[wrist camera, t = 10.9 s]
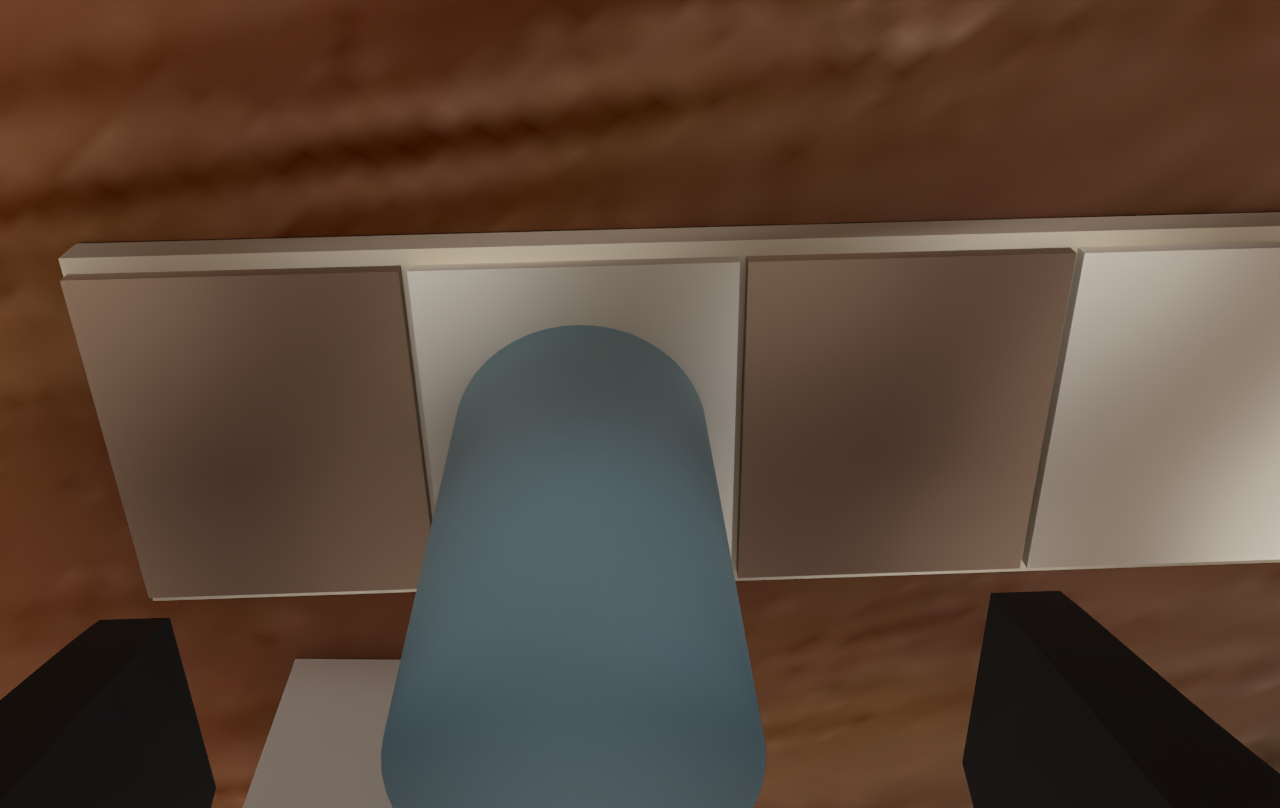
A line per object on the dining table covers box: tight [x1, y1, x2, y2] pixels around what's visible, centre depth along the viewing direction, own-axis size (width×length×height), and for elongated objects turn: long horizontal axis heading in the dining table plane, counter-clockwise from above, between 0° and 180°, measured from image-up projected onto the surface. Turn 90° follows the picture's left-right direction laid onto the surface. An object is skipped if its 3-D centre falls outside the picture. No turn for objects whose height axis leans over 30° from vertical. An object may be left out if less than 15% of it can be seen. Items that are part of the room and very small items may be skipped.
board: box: [58, 212, 1280, 601], centre depth 14 cm, size 16×5×1 cm, turn 91°
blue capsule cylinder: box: [381, 325, 766, 808], centre depth 12 cm, size 3×3×6 cm
